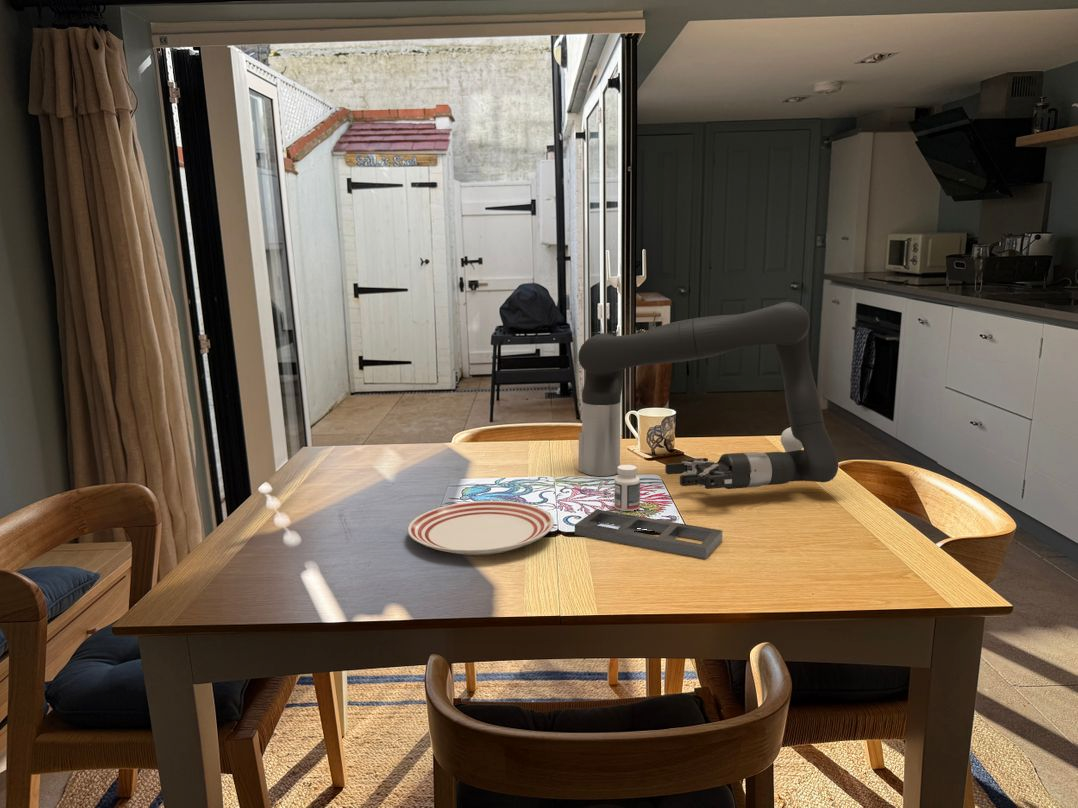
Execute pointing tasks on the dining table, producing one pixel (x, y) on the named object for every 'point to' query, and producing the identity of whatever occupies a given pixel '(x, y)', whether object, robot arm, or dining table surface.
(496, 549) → the dinner plate
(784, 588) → the dining table surface
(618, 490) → the pill bottle
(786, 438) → the light bulb
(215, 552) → the dining table surface
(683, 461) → the robot arm
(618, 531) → the compartment tray
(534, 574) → the dining table surface
